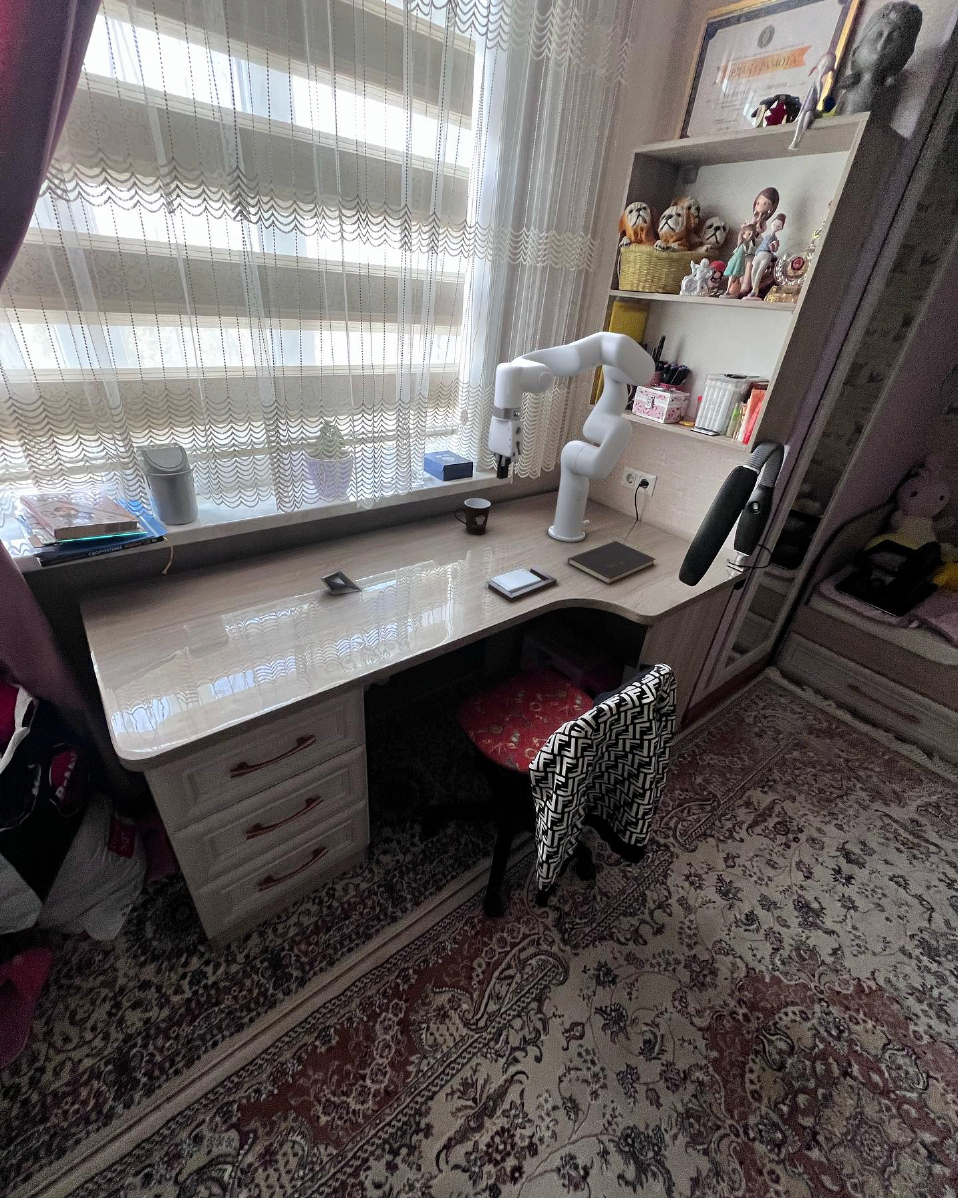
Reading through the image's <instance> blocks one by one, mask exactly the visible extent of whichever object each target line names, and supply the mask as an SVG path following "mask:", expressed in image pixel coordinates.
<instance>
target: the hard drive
mask: <svg viewBox="0 0 958 1198" xmlns="http://www.w3.org/2000/svg"><path fill="white" fill-rule="evenodd" d="M491 582H493V583H495V584H496V585H498V586H500V587H501V588H503V589H504V590H506V591H508V592H509V593H511V594H512V593H515V592H517V591H520V590H523V589H525V588H528V587H530V586H533V585H535V584H538V583H540V582H542V579H540V578H539V577H537V576H535V575H534V574H532V573H530V570H527V569H526V568H520V569H516V570H514V571H510V572H506V573H504V574H503V573H502V574H500V575H497V576H494V577H491V578H489V581H488V583H491Z"/></svg>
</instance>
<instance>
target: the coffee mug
mask: <svg viewBox="0 0 958 1198" xmlns="http://www.w3.org/2000/svg"><path fill="white" fill-rule="evenodd" d="M491 504H492V503H491V501H489V500H487V499H484V498H478V497H477V498H476V497H475V498H468V499H466V500H464V507H456V509H454V511H453V516H454V518H455V519H456V520H457V521H459V522H461V524H464V525H465V529H466V533H468V534H470V535H473V536H481V535H484V534H485V533H486V530H487V529H486V528H487V524H488V521H489V520H488V519H489V516H490V510H491ZM459 510H461V511H463V513H464V515H465V521H464V520H462V519H460V518H458V517H457V515H456V514H457V511H459Z"/></svg>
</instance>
